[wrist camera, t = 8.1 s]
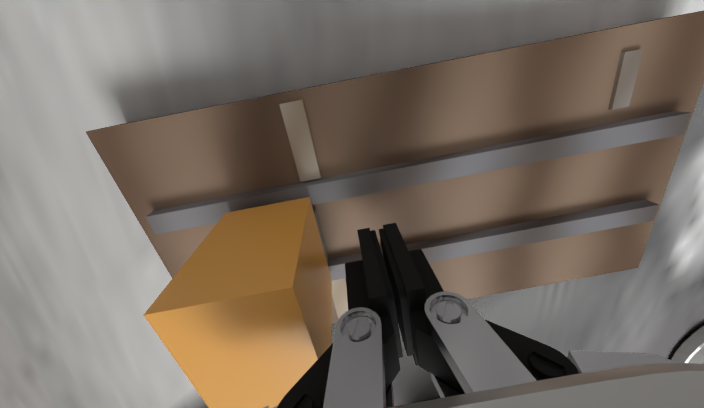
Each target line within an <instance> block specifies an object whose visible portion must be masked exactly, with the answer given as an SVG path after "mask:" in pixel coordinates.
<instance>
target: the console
mask: <svg viewBox="0 0 704 408" xmlns="http://www.w3.org/2000/svg"><path fill="white" fill-rule="evenodd" d="M703 82H704V11H699V12H694V13H689V14H683V15H678V16H673V17H667V18H662V19H657V20H652V21H647V22H641V23H636V24H631V25H626V26H621V27H616V28H611V29H606V30H600V31H595V32H590V33H585V34H580V35H575V36H570V37H565V38H560V39H554V40H549V41H544V42H539V43H534V44H529V45H524V46H519V47H514V48H508V49H503V50H498V51H493V52H488V53H483V54H478V55H473V56H468V57H462V58H457V59H452V60H447V61H442V62H437V63H432V64H427V65H421V66H416V67H411V68H406V69H401V70H396V71H391V72H386V73H381V74H375V75H370V76H365V77H360V78H355V79H350V80H345V81H340V82H335V83H329V84H324V85H319V86H314V87H309V88H304V89H299V90H294V91H288V92H283V93H278V94H273V95H268V96H263V97H258V98H253V99H248V100H242V101H237V102H232V103H227V104H222V105H217V106H212V107H207V108H202V109H196V110H191V111H186V112H181V113H176V114H171V115H166V116H161V117H155V118H150V119H145V120H140V121H135V122H130V123H125V124H120V125H115V126H111V127H106V128H101V129H96V130H92V131H87V132H86V133H87V135H88V137H89V138H90V140H91V142H92V143H93V145H94V147H95V149H96V150H97V152H98V154H99V155H100V157H101V159H102V160H103V162H104V164H105V165H106V167H107V169H108V170H109V172H110V174H111V175H112V177H113V179H114V181H115V182H116V184H117V186H118V187H119V189H120V191H121V192H122V194H123V196H124V197H125V199H126V201H127V202H128V204H129V206H130V208H131V209H132V211H133V213H134V214H135V216H136V218H137V219H138V221H139V223H140V224H141V226H142V228H143V229H144V231H145V233H146V235H147V236H148V238H149V240H150V241H151V243H152V245H153V246H154V248H155V250H156V251H157V253H158V255H159V256H160V258H161V260H162V261H163V263H164V265H165V267H166V268H167V270H168V272H169V273H170V275H171V277H172V278H174V276H175V275H176V274H177V273H178V271H179V270H180V269H181V268H182V266H183V265H184V264H185V263H186V261H187V260H188V259H189V258H190V256H191V255H192V254H193V253H194V251H195V250H196V249H197V248H198V246H199V245H200V244H201V243H202V241H203V240H204V239H205V238H206V236H207V235H208V234H209V233H210V231H211V230H212V229H213V228H214V226H215V225H216V224H217V223H218V221H219V220H220V219H221V218H222V216H223V215H224V214H225V213H227V212H233V211H238V210H243V209H248V208H254V207H259V206H264V205H269V204H275V203H280V202H285V201H290V200H296V199H301V198H306V197H310V200H311V204H312V208H313V209H315V208H316V212H317V216H318V220H319V223H320V227H321V231H322V235H323V239H324V242H325V246H326V250H327V254H328V267H329V271H330V275H331V279H332V324H335V323H337V321H338V320H339V318H340V317H341V315H343V314H344V313H345V312H346V311H348V300H347V287H346V273H345V263H348V262H353V261H359V260H362V255H361V249H360V243H359V237H358V232H357V230H359V229H365V228H370V231H372V230H375V231H376V235H377V238H378V242H379V245H380V249H381V252H382V247H381V241H380V235H379V229H382V228H383V225H386V224H391V223H396V224H397V226H398V229H399V231H400V233H401V235H402V238H403V240H404V242H405V244H406V246H407V249H408V251H411V250H417V249H421V250H422V251H423V253H424V255H425V257H426V259H427V260H428V262H429V264H430V266H431V268H432V270H433V272H434V274H435V275H436V277H437V279H438V281H439V283H440V285H441V287H442V289H443V290H444V292H453V293H457V294H459V295H461V296H463V297H465V298H466V299H471V298H476V297H482V296H487V295H492V294H498V293H503V292H509V291H514V290H520V289H525V288H530V287H536V286H541V285H547V284H552V283H558V282H563V281H568V280H574V279H579V278H585V277H590V276H595V275H601V274H606V273H612V272H617V271H623V270H628V269H633V268H638V266H639V264H640V261H641V258H642V255H643V252H644V249H645V247H646V244H647V241H648V238H649V235H650V232H651V230H652V227H653V224H654V221H655V218H656V215H657V213H658V210H659V207H660V204H661V201H662V198H663V196H664V193H665V190H666V187H667V184H668V181H669V179H670V176H671V173H672V170H673V167H674V164H675V162H676V159H677V156H678V153H679V150H680V147H681V145H682V142H683V139H684V136H685V133H686V130H687V127H688V125H689V122H690V119H691V116H692V113H693V110H694V108H695V105H696V102H697V99H698V96H699V93H700V91H701V88H702V85H703ZM382 255H383V254H382Z"/></svg>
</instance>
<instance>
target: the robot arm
mask: <svg viewBox="0 0 704 408" xmlns="http://www.w3.org/2000/svg"><path fill="white" fill-rule="evenodd" d="M357 232H358V237H359V243H360V249H361V255H362V260H359V261H353V262H348V263H345V273H346V287H347V300H348V311H346V312H345V313H344V314H343V315H341V317H340V318H339V320H338V321H337V324H336V327H335V334H334V340H333V343H332V344H331V346H330V347H329V348H328V349H327V350H326V351H325V352H324V353H323V354H322V355H321V356H320V358H319V359H318V360H317V361H316V362H315V363H314V364H313V365H312V366H311V367H310V369H309V370H308V371H307V372H306V373H305V374H304V375H303V376H302V377H301V378H300V379H299V381H298V382H297V383H296V384H295V385H294V386H293V387H292V388H291V389H290V390H289V392H288V393H287V394H286V395H285V396H284V397H283V399H282V400H281V401H280V403H279V405H278V406H275V407H273V408H704V325H703V326H702V327H701V328H699V329H698V330H697V331H695V332H694V333H693V334H691V335H690V336H689V337H688V338H687V339H686V340H685V341H684V342H683V343H682V344H681V345H680V347H679V348H678V349H677V350H676V351H675V353H674V355H673V357H672V358H671V360H669V359H667V358H664V357H662V356H659V355H654V354H648V353H629V352H602V351H576V350H569V353H568V354H562V353H561V352H559V351H557V350H555V349H554V348H552V347H550V346H547V345H545V344H542V343H540V342H538V341H535V340H533V339H530V338H528V337H526V336H523V335H521V334H518V333H516V332H513V331H511V330H509V329H506V328H504V327H501V326H499V325H497V324H494V323H492V322H489V321H487V320H485V319H484V318H483V317H482V316H481V315H480V313H479V312H478V311H477V310H476V309H475V308H474V306H473V305H472V304H471V303H470V302H469V301H468V300H467V299H466V298H465V297H463V296H461V295H459V294H457V293H453V292H444V290H443V289H442V287H441V285H440V283H439V281H438V279H437V277H436V275H435V274H434V272H433V270H432V268H431V266H430V264H429V262H428V260H427V259H426V257H425V255H424V253H423V251H422V250H421V249H417V250H411V251H408V249H407V246H406V244H405V242H404V240H403V238H402V235H401V233H400V231H399V229H398V226H397V224H396V223H391V224H386V225H383V228H382V229H379V235H380V241H381V247H382V252H381V249H380V245H379V242H378V238H377V235H376V231H375V230H372V231H370V228H365V229H359V230H357ZM382 254H383V255H382ZM398 324H399V327H398ZM399 328H400V331H401V335H402V339H403V342H404V346H405V349H406V353H407V356H411V355H413V357H414V361H415V364H416V365H419V366H420V367H422V368H423V369H425V370H427V371H428V372H430V376H431V379H432V381H433V383H434V385H435V387H436V389H437V391H438V393H439V395H440V397H441V398H439V399H433V400H428V401H423V402H417V403H412V404H406V405H401V406H395V407H394V396H393V385H392V381H393V380H394V378H395V377H396V375H397V374H398V372H399V370H400V365H399V358H400V357H403V354H402V347H401V341H400V334H399ZM264 408H269V406H266V407H264Z"/></svg>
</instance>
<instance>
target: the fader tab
mask: <svg viewBox="0 0 704 408" xmlns="http://www.w3.org/2000/svg"><path fill="white" fill-rule="evenodd" d="M144 316H145V318H146V319H147V321H148V322H149V323H150V325H151V326H152V328H153V329H154V331H155V332H156V333H157V335H158V336H159V338H160V339H161V340H162V342H163V343H164V345H165V346H166V348H167V349H168V350H169V352H170V353H171V355H172V356H173V357H174V359H175V360H176V362H177V363H178V365H179V366H180V367H181V369H182V370H183V372H184V373H185V374H186V376H187V377H188V379H189V380H190V382H191V383H192V384H193V386H194V387H195V389H196V390H197V392H198V393H199V394H200V396H201V397H202V399H203V400H204V401H205V403H206V404H207V406H208V407H209V408H264V407H266V406H269V408H273V407H275V406H278V405H279V403H280V401H281V400H282V399H283V397H284V396H285V395H286V394H287V393H288V392H289V390H290V389H291V388H292V387H293V386H294V385H295V384H296V383H297V382H298V381H299V379H300V378H301V377H302V376H303V375H304V374H305V373H306V372H307V371H308V370H309V369H310V367H311V366H312V365H313V364H314V363H315V362H316V361H317V360H318V359H319V358H320V356H321V355H322V354H323V353H324V352H325V351H326V350H327V349H328V348H329V347H330V346H331V344H332V279H331V275H330V271H329V267H328V254H327V250H326V246H325V242H324V239H323V235H322V231H321V227H320V223H319V220H318V216H317V212H316V208H315V209H313V208H312V204H311V200H310V197H306V198H301V199H296V200H290V201H285V202H280V203H275V204H269V205H264V206H259V207H254V208H248V209H243V210H238V211H233V212H227V213H225V214H224V215H223V216H222V218H221V219H220V220H219V221H218V223H217V224H216V225H215V226H214V228H213V229H212V230H211V231H210V233H209V234H208V235H207V236H206V238H205V239H204V240H203V241H202V243H201V244H200V245H199V246H198V248H197V249H196V250H195V251H194V253H193V254H192V255H191V256H190V258H189V259H188V260H187V261H186V263H185V264H184V265H183V266H182V268H181V269H180V270H179V271H178V273H177V274H176V275H175V276H174V278H173V279H172V280H171V281H170V283H169V284H168V285H167V286H166V288H165V289H164V290H163V291H162V293H161V294H160V295H159V296H158V298H157V299H156V300H155V301H154V303H153V304H152V305H151V306H150V308H149V309H148V310H147V311H146V313H145V314H144Z"/></svg>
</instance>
